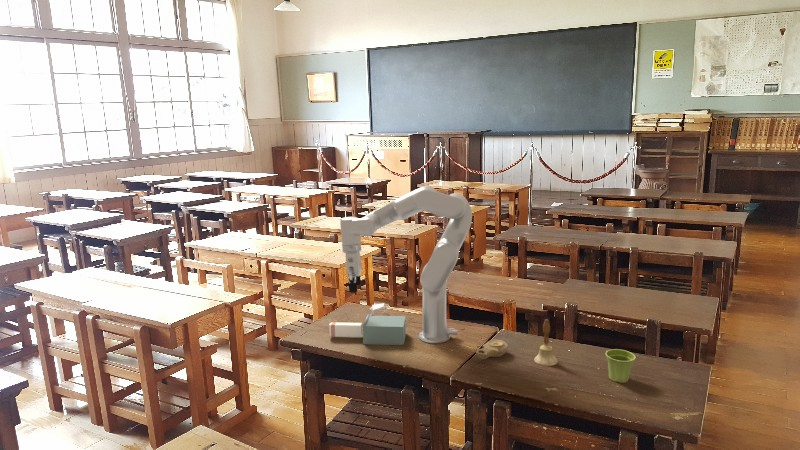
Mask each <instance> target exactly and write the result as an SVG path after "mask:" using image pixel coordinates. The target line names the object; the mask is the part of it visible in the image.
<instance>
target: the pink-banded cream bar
mask: <svg viewBox="0 0 800 450" xmlns="http://www.w3.org/2000/svg"><path fill="white" fill-rule="evenodd" d="M328 331H329V338H363V322H336V321H332V322H330V323H329V324H328Z"/></svg>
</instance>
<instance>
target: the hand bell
mask: <svg viewBox="0 0 800 450" xmlns="http://www.w3.org/2000/svg"><path fill="white" fill-rule="evenodd" d="M542 331H543V336H544V337H543V344H542V345H540V346H539V349H538V350H539V351H538V354H537V355H536V356H535V357H534V359H533V361H534V362H535V363H536V364H537V365H540V366H543V367H546V366H547V367H550V366H551V367H553V366H555V365H557V364H558V359H557V358H556V356H555V355H554V350H553V347H552V346H551V345H550V343H549V339H550V337H549V336H550V333H551V325H550V321H549V318H546V319H544V322H543V324H542Z"/></svg>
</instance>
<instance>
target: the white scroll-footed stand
mask: <svg viewBox="0 0 800 450" xmlns="http://www.w3.org/2000/svg"><path fill="white" fill-rule="evenodd" d="M371 305H372V306H371V307H370V308H369V310H370V313H369V315H370V316H374V312H376V311H379V310H382V309H383V310H384V311H383V312H382V313H383V314H382V315H385V314H387V313H386V312H387V311H388V310H389V308H388V307H387V305H386V304H385V302H384V303H383V302H382V303H378V304H377V303H376V304H371Z"/></svg>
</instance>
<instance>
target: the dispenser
mask: <svg viewBox="0 0 800 450" xmlns="http://www.w3.org/2000/svg"><path fill="white" fill-rule="evenodd" d="M406 318H407V317H406V315H370V313H369V314H367V315H366V317H365V319H364V321H363V323H362V339H363V340H362V342H363V345H388V346H389V345H390V346H392V345H393V346H394V345H395V346H404V344H405V340H406V334H407V331H406V330H407V329H406V328H407V327H406V325H407V324H406V320H407V319H406Z"/></svg>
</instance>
